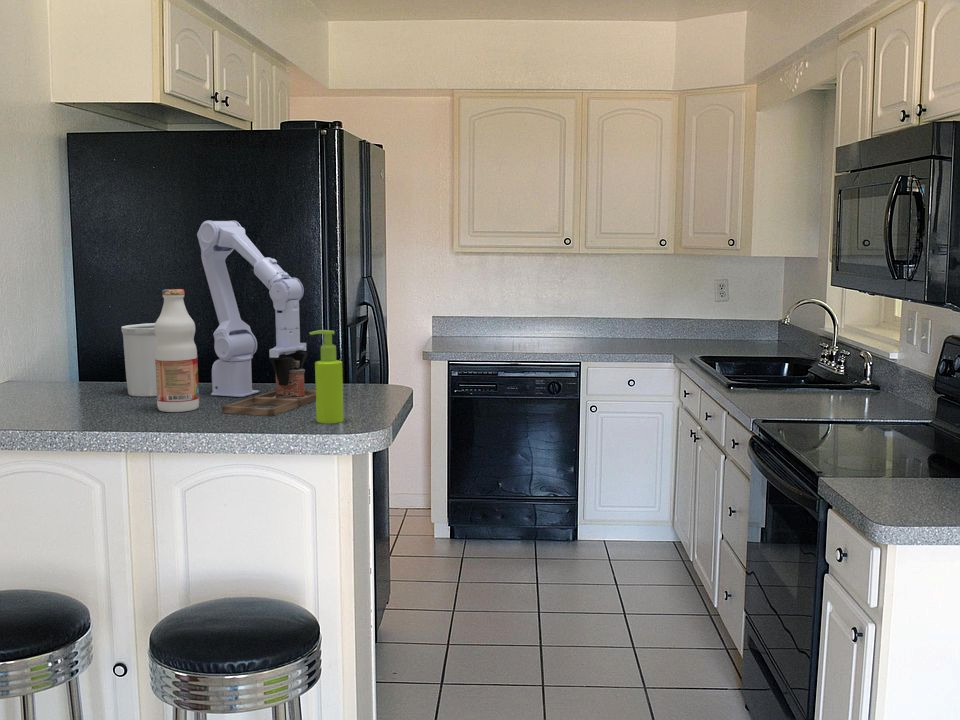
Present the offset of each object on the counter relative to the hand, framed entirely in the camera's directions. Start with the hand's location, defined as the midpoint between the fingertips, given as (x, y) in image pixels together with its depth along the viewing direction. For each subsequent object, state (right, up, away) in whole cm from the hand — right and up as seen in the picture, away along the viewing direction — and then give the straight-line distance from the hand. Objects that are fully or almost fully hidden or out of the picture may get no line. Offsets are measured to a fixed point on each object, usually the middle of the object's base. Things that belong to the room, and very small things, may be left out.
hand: (289, 383), depth 242 cm
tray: (-2, -5, -6) cm, 8 cm away
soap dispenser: (+13, -8, -25) cm, 30 cm away
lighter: (0, -4, 0) cm, 4 cm away
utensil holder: (-37, -3, +13) cm, 39 cm away
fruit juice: (-24, -6, -11) cm, 27 cm away
